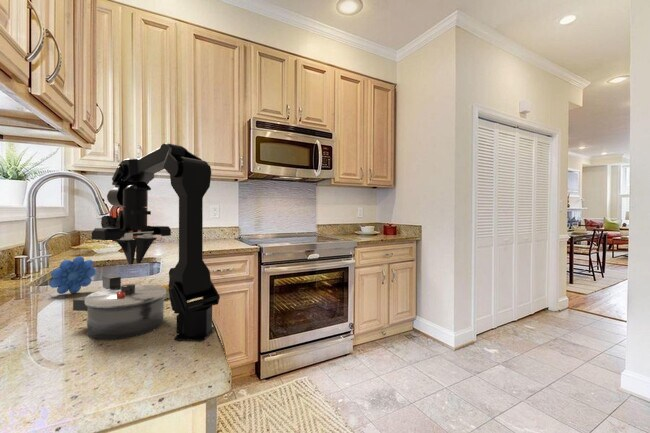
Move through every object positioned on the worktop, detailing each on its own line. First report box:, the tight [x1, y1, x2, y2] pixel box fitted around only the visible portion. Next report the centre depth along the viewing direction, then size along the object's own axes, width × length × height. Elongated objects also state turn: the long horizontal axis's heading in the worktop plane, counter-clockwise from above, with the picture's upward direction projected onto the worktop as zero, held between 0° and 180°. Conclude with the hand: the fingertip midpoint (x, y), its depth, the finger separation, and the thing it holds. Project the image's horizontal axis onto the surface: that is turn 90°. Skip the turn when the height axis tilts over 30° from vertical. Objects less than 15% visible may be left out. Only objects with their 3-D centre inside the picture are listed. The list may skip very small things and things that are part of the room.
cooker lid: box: [85, 274, 166, 308], centre depth 71 cm, size 21×16×4 cm
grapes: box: [49, 256, 97, 295], centre depth 97 cm, size 12×7×12 cm, turn 129°
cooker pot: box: [72, 295, 165, 341], centre depth 70 cm, size 20×15×7 cm
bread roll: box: [156, 284, 170, 300], centre depth 94 cm, size 8×9×4 cm
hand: (134, 263), depth 81 cm, fingers closed
